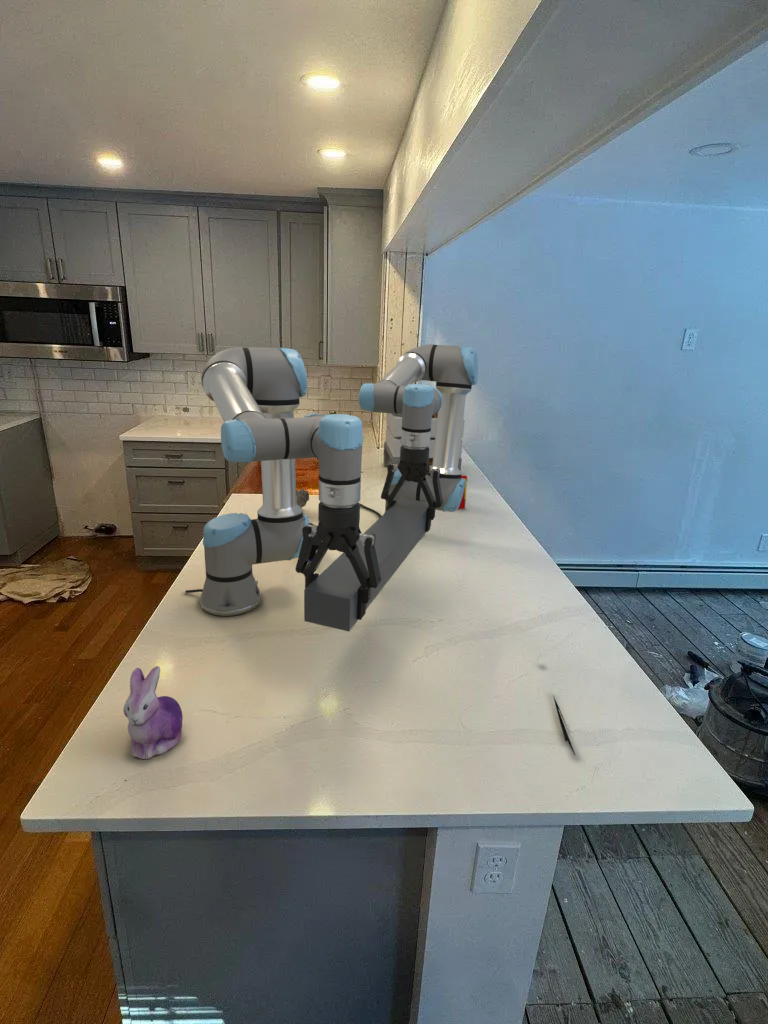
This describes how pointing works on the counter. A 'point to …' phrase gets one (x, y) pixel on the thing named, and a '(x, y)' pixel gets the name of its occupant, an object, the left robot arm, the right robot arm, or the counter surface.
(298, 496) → the fossil
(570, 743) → the feather
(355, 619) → the thick board
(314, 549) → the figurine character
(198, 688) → the counter surface
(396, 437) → the white slatted crate
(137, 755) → the figurine
